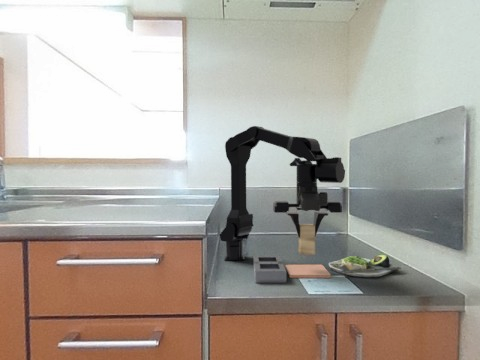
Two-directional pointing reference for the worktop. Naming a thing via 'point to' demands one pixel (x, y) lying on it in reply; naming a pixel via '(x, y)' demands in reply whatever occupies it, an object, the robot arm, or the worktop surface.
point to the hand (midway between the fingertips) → (306, 237)
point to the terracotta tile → (307, 271)
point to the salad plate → (364, 266)
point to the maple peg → (307, 239)
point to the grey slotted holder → (269, 269)
